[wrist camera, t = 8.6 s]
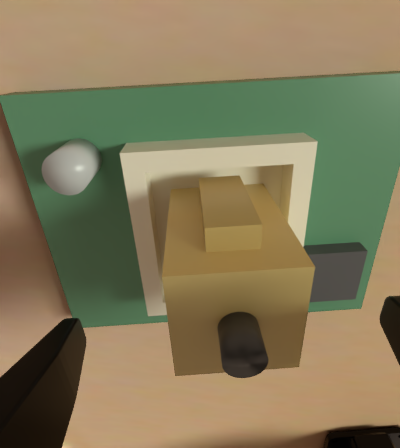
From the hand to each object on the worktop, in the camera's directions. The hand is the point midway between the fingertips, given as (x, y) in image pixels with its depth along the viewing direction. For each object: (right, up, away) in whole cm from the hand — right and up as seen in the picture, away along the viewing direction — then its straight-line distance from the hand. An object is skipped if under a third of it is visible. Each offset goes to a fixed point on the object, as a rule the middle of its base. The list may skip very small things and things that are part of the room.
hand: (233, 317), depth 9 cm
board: (0, +3, +6) cm, 7 cm away
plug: (0, +3, +5) cm, 6 cm away
